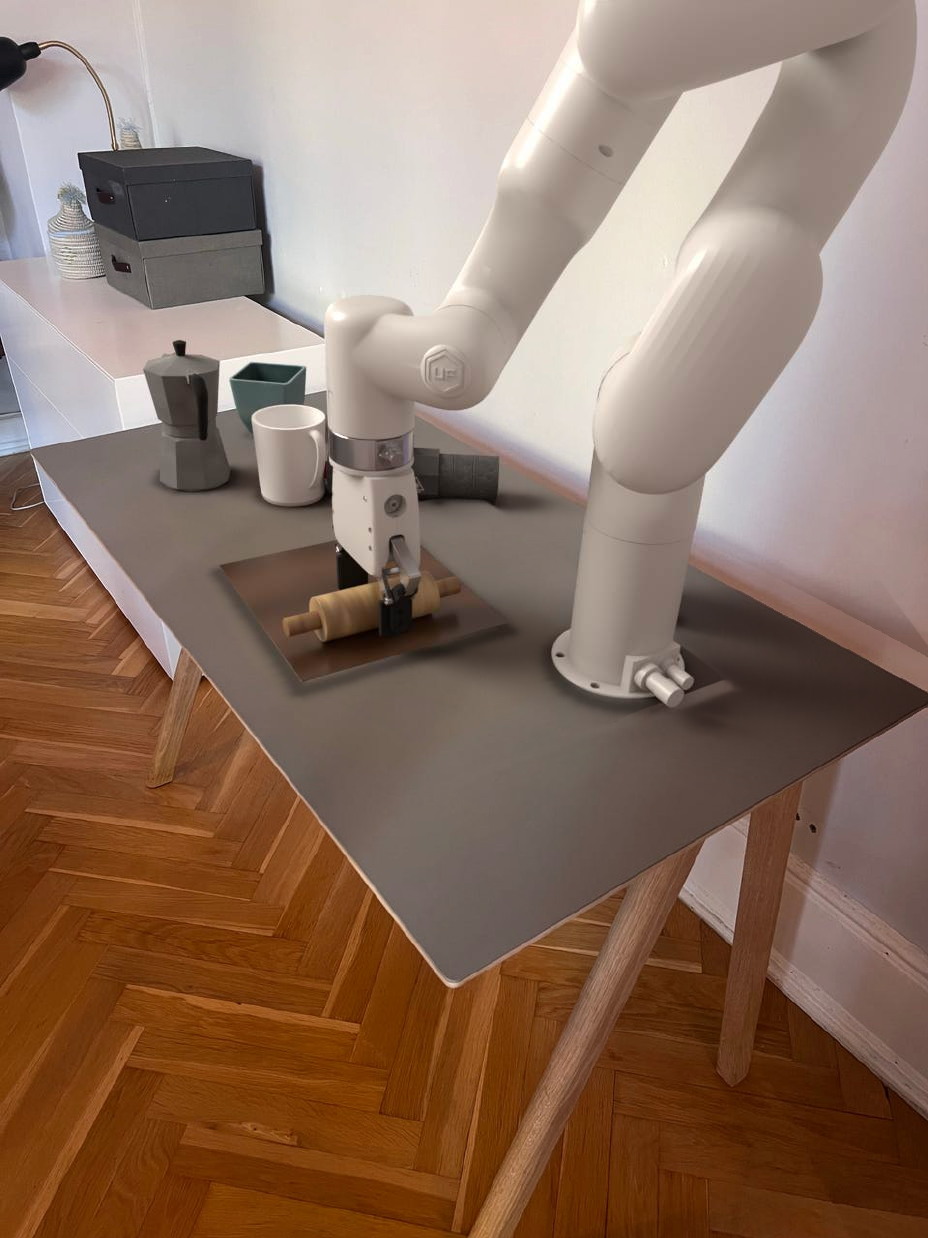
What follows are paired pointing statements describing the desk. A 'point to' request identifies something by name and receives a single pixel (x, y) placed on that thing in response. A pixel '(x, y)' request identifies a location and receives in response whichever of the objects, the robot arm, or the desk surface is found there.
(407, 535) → the robot arm
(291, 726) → the desk surface
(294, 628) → the rolling pin
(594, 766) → the desk surface
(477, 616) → the pastry board
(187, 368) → the coffeepot
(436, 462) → the laser sight
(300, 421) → the mug
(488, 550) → the desk surface
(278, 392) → the flower pot
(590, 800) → the desk surface
